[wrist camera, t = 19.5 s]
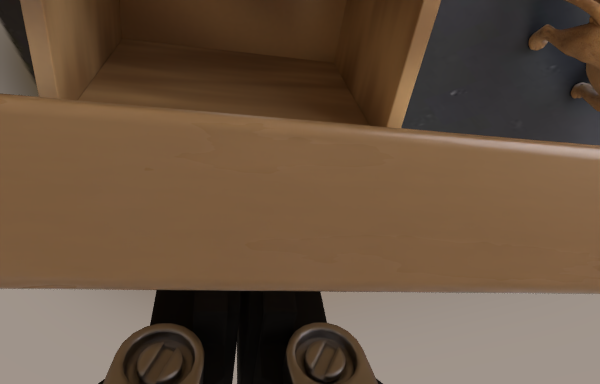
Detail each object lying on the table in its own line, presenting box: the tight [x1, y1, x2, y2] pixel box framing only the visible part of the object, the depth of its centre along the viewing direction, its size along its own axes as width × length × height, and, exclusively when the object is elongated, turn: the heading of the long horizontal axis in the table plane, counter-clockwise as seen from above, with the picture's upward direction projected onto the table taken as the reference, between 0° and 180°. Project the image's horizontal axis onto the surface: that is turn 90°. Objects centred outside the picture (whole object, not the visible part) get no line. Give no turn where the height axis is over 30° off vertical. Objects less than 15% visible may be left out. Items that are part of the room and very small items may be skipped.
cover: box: [0, 94, 600, 294], centre depth 10 cm, size 16×14×1 cm
